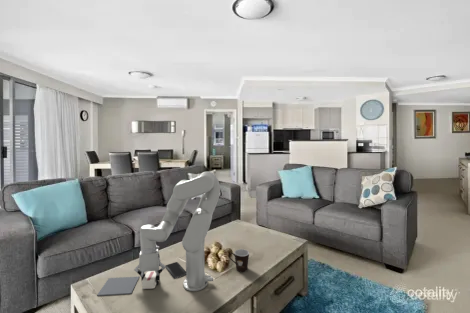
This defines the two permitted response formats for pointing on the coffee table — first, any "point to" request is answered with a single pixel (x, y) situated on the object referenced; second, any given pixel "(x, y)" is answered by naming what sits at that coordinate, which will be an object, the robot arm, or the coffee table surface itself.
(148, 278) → the card box
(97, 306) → the coffee table surface
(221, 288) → the coffee table surface
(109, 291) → the mat
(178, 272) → the phone
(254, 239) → the coffee table surface
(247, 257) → the coffee mug
